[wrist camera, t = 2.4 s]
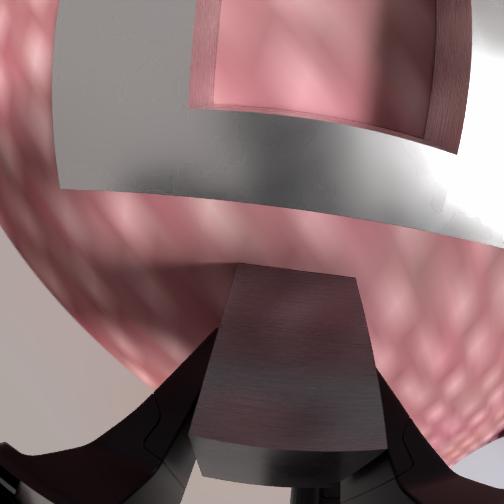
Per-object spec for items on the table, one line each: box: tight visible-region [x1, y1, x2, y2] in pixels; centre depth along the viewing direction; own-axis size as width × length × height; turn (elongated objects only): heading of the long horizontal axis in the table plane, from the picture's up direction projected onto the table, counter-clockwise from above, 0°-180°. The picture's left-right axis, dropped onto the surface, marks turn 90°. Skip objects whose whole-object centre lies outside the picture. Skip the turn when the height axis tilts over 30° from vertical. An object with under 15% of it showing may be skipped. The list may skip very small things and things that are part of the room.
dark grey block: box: [188, 263, 388, 488], centre depth 8 cm, size 4×4×6 cm
